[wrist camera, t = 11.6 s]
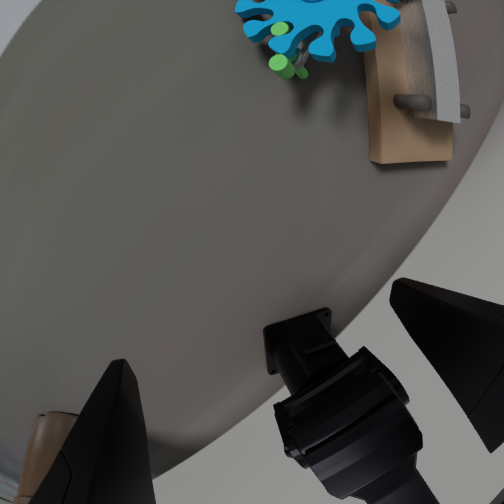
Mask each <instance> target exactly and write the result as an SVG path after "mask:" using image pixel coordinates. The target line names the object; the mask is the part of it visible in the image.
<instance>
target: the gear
mask: <svg viewBox="0 0 504 504" xmlns="http://www.w3.org/2000/svg"><path fill="white" fill-rule="evenodd" d="M386 1H388V2H391V3H398V1H399V0H386ZM363 11H370V12H373V13H374V14H375V15H376V16H377V19H378V23H379V25H380V26H381V27H382V28H383V29H385V30H388V31H389V30H392V29H394V28H395V27H396V26H397V25H398V24H399V23H400V22H401V16H400V12H399V11H398V10H397V9H395V8H393V7H390V6H386V5H383V4H380V3H378V2H376V1H374V0H265V1H264V2H262V3H254V2H253V1H252V0H239V1H238V2H237V4H236V7H235V12H236V13H237V14H238V15H239V16H240V17H242V18H249V17H252V16H254V15H259V14H270V15H273V17H272V18H271V19H270V20H268V21H258V20H251V21H248V22H246V23H245V24H244V31H245V34H246V35H247V37H248V38H249V39H250V40H251V41H252V42H253V43H256V42H260V41H262V40H263V39H264V38H265V37H266V36H268V35H269V34H271V33H272V34H273V35H274V36H275V37H274V38H272V39H271V40H270V41H269V43H268V45H269V47H270V48H271V49H272V50H273V51H274V52H275V53H276V55H274V56H273V57H272V58H271V59H270V61H269V66H270V68H271V69H272V70H273V71H274V72H275V73H276V74H277V75H278V76H279V77H281V78H283V79H289V78H291V77H292V76H293V75H294V74H295V73H296V74H297V76H298V77H299V78H300V79H306V78H307V77H308V75H309V74H308V72H307V70H306V69H305V67H304V66H303V65H304V63H305V62H306V60H307V58H308V57H309V55H310V54H311V56H312V58H313V59H315V60H317V61H321V62H334V61H335V59H336V52H335V49H334V38H335V37H338V36H339V35H340V30H339V29H340V28H341V27H343V26H352V27H354V29H353V31H352V33H351V35H350V38H351V42H352V45H353V47H354V49H355V50H356V51H357V52H364V51H369V50H373V49H376V48H377V44H376V37H375V35H374V33H373V32H372V31H370V30H369V29H368V28H367V27H365V26H364V25H363V23H362V22H361V20H360V19H359V14H360V13H361V12H363ZM290 28H293V30H291V29H290ZM322 33H323V35H322ZM321 35H322V36H321Z"/></svg>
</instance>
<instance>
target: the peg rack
mask: <svg viewBox="0 0 504 504" xmlns="http://www.w3.org/2000/svg"><path fill="white" fill-rule="evenodd" d="M374 1H376V2H378V3H380V4H383V5H386V6H390V7H393V8H395V9H396V6H395V3H391V2H388V1H386V0H374ZM445 5H446V9H447V14H451V13H456V12H457V10H456V7H455V5H454V4H453V2H451V1H447V2H445ZM359 19H360V20H361V22H362V23H363V25H364V26H365V27H367V28H368V29H369V30H370V31H372V32H373V33H374V35H375V37H376V44H377V48H376V49H373V50H369V51H364V52H363V58H364V67H365V77H366V88H367V101H368V118H369V151H370V161H373V162H377V163H380V164H388V163H402V162H420V161H446V160H452V141H453V122H448V121H441V120H434V119H426V118H419V117H410V116H409V109H411V110H421V111H430V110H431V108H432V101H431V98H430V97H429V96H428V95H419V94H408V86H407V75H406V66H405V57H404V50H403V43H402V37H401V31H400V25H399V24H398V25H397V26H396V27H395V28H394V29H392V30H389V31H388V30H385V29H383V28H382V27H381V26H380V25H379V23H378V19H377V16H376V15H375V14H374V13H373V12H370V11H363V12H361V13H360V14H359ZM460 117H462V118H467V119H468V118H469V117H470V108H469V106H468V105H464V104H460Z"/></svg>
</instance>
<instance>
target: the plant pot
mask: <svg viewBox="0 0 504 504" xmlns="http://www.w3.org/2000/svg"><path fill="white" fill-rule="evenodd" d="M77 418H78V416H77V415H73V414H68V413H61V412H49V413H48V414H46V415H45V416H41V415H39V416H37V417H36V419H35V420H34V423H33V428H32V431H31V435H30V439H29V443H28V447H27V451H26V455H25V459H24V463H23V467H22V472H21V477H20V482H19V488H18V493H17V497H15V498H14V501H13V504H28V502H29V501H30V499H31V498H32V496H33V494H34V493H35V491H36V490H37V488H38V487H39V485H40V483H41V482H42V480H43V479H44V477H45V475H46V474H47V472H48V470H49V468H50V467H51V465H52V463H53V461H54V459H55V458H56V456H57V454H58V452H59V450H60V449H61V446H62V445H63V443H64V441H65V439H66V437H67V435H68V434H69V432H70V430H71V428H72V426H73V425H74V423H75V421H76V419H77ZM61 450H62V449H61Z"/></svg>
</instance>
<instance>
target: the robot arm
mask: <svg viewBox="0 0 504 504" xmlns="http://www.w3.org/2000/svg"><path fill="white" fill-rule="evenodd" d="M389 301H390V305H391V307H392V308H393V309H394V311H395V313H396V314H397V316H398V318H399V319H400V321H401V322H402V324H403V325H404V327H405V329H406V330H407V332H408V333H409V335H410V336H411V338H412V339H413V341H414V342H415V343H416V345H417V346H418V347H419V348H420V350H421V351H422V353H423V354H424V355H425V356H426V358H427V359H428V361H429V362H430V363H431V365H432V366H433V367H434V369H435V370H436V371H437V373H438V374H439V376H440V377H441V379H442V380H443V381H444V383H445V384H446V386H447V387H448V388H449V390H450V391H451V393H452V394H453V396H454V397H455V399H456V400H457V402H458V403H459V405H460V406H461V408H462V409H463V411H464V412H465V414H466V415H467V417H468V419H469V420H470V422H471V423H472V425H473V427H474V428H475V430H476V431H477V433H478V435H479V436H480V438H481V439H482V441H483V443H484V445H485V446H486V448H487V449H488V451H489V452H490V453H492V452H493V451H494V450H496V449H497V448H498V447H499V446H500V445H501V444H502V443H503V442H504V305H500V304H496V303H493V302H490V301H486V300H482V299H479V298H476V297H472V296H469V295H465V294H462V293H458V292H454V291H451V290H447V289H444V288H440V287H436V286H433V285H429V284H426V283H422V282H419V281H415V280H411V279H408V278H399V279H397V280H395V281H394V282H393V284H392V289H391V294H390V299H389ZM330 321H331V311H330V310H329V308H327V307H326V308H322V309H319V310H316V311H313V312H310V313H307V314H304V315H301V316H298V317H295V318H291V319H288V320H285V321H282V322H278V323H275V324H272V325H268V326H266V327H265V328H264V329H263V336H264V345H265V355H266V364H267V371H268V373H269V375H274V374H277V373H280V375H281V377H282V378H283V380H284V382H285V384H286V386H287V388H288V390H289V392H290V394H291V396H290V397H288V398H287V399H285V400H283V401H282V402H278V403H276V404H274V405H273V407H274V410H275V418H276V421H277V424H278V427H279V431H280V434H281V437H282V440H283V443H284V452H285V454H286V455H287V457H290V458H294V459H295V460H296V461H297V462H298V463H299V465H300V466H302V467H303V468H305V469H307V468H309V467H310V468H311V469H312V471H313V472H314V473H315V475H316V476H317V477H318V479H319V480H320V481H321V483H322V484H323V485H324V487H325V489H326V490H327V492H328V493H329V494H331V495H333V496H335V497H337V498H339V499H344V498H346V497H348V496H352V497H355V498H358V499H362V500H365V502H366V503H367V504H440V503H439V502H438V501H437V499H436V498H435V496H434V494H433V493H432V491H431V490H430V488H429V487H428V485H427V484H426V482H425V481H424V479H423V478H422V476H421V475H420V473H419V472H418V470H417V469H416V460H417V452H418V451H419V450H421V449H422V448H423V441H422V433H421V431H420V430H419V428H418V426H417V424H416V422H415V421H414V419H413V417H412V416H411V414H410V413H409V411H408V410H407V408H406V406H405V405H406V404H408V403H409V401H410V400H409V397H408V395H407V393H406V391H405V389H404V387H403V386H402V385H401V383H400V382H399V380H398V379H397V378H396V376H395V375H394V374H393V373H392V372H391V371H390V370H389V369H388V368H387V367H386V366H385V365H384V364H383V363H382V362H381V361H380V360H378V359H377V358H376V357H375V356H374V355H373V354H372V353H371V352H370V351H369V350H368V349H367V348H366V347H365V346H363V347H362V348H360V349H359V351H358V352H357V353H355V354H354V355H352V356H351V357H350V358H349V357H348V356H347V355H346V353H345V352H344V351H343V350H342V348H341V347H340V346H339V345H338V343H337V342H336V340H335V339H334V337H333V336H332V335H331V333H330ZM270 330H271V331H270ZM268 331H269V332H268ZM61 449H62V450H61ZM61 449H60V450H59V452H58V454H57V456H56V458H55V459H54V461H53V463H52V465H51V467H50V468H49V470H48V472H47V474H46V475H45V477H44V479H43V480H42V482H41V483H40V485H39V487H38V488H37V490H36V491H35V493H34V494H33V496H32V498H31V499H30V501H29V502H28V504H156V500H155V495H154V489H153V483H152V476H151V469H150V462H149V454H148V445H147V435H146V426H145V421H144V416H143V411H142V405H141V400H140V394H139V388H138V382H137V379H136V376H135V374H134V373H133V371H132V369H131V367H130V366H129V364H128V362H127V361H126V360H125V359H117V360H113V361H111V363H110V364H109V366H108V367H107V369H106V371H105V372H104V374H103V375H102V377H101V379H100V380H99V382H98V384H97V385H96V387H95V389H94V390H93V392H92V394H91V395H90V397H89V399H88V400H87V402H86V404H85V405H84V407H83V409H82V411H81V412H80V414H79V416H78V418H77V419H76V421H75V423H74V425H73V426H72V428H71V430H70V432H69V434H68V435H67V437H66V439H65V441H64V443H63V445H62V446H61ZM490 504H504V488H503V489H502V491H501V492H500V493H499V494H498V495H497V496H496V497H495V498H494V500H493V501H492V502H491V503H490Z"/></svg>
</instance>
